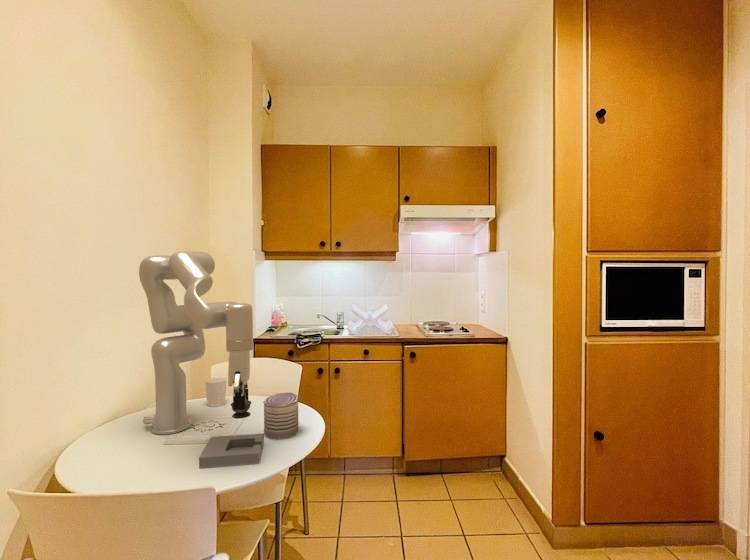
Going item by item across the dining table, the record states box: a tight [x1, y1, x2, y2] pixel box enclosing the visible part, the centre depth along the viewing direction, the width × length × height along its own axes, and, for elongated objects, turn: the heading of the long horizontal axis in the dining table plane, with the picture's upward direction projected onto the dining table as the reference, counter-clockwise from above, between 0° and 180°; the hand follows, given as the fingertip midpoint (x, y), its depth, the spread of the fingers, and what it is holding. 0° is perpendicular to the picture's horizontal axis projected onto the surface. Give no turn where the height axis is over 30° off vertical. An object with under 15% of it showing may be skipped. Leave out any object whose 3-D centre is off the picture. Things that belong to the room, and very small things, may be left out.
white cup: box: [205, 376, 227, 408], centre depth 165 cm, size 8×8×10 cm
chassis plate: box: [198, 432, 265, 469], centre depth 120 cm, size 16×14×3 cm
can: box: [262, 392, 300, 441], centre depth 136 cm, size 11×11×12 cm
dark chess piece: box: [230, 383, 252, 420], centre depth 120 cm, size 6×6×12 cm
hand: (241, 405), depth 120 cm, fingers closed on dark chess piece, 5 cm apart
